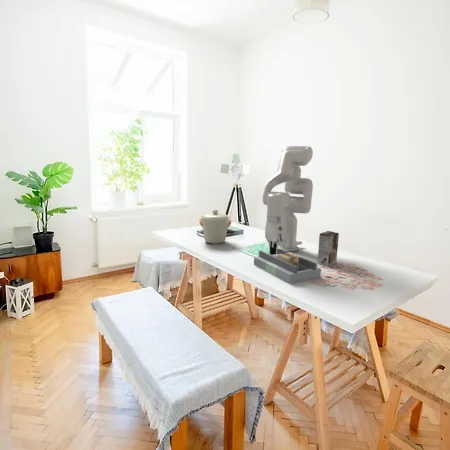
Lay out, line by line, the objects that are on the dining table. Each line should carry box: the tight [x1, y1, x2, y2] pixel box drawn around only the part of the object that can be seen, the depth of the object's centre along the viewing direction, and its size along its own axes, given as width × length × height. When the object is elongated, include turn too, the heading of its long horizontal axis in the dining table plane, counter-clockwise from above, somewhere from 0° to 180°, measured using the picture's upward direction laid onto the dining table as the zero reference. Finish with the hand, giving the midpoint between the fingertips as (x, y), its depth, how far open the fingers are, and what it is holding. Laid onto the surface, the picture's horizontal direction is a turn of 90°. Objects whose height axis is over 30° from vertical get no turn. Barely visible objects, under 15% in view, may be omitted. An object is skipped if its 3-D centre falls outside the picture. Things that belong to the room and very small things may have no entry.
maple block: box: [278, 252, 300, 265], centre depth 153 cm, size 7×7×4 cm
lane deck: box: [253, 248, 322, 284], centre depth 155 cm, size 18×28×7 cm, turn 28°
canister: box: [200, 209, 230, 245], centre depth 204 cm, size 18×18×21 cm
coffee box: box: [316, 230, 339, 267], centre depth 166 cm, size 9×6×16 cm
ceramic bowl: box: [198, 218, 232, 229], centre depth 239 cm, size 30×24×8 cm
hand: (272, 254), depth 164 cm, fingers closed
